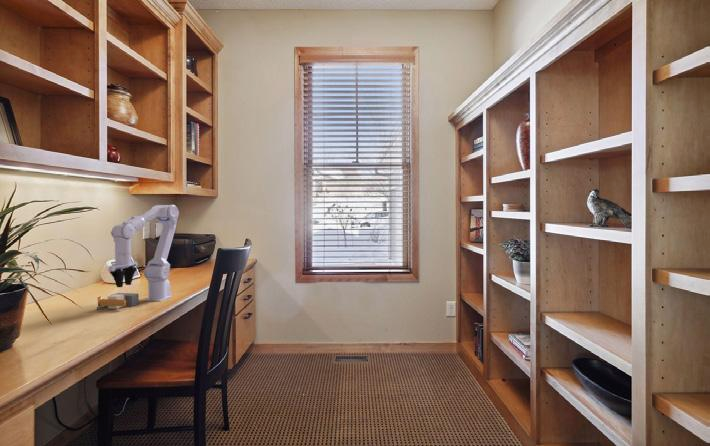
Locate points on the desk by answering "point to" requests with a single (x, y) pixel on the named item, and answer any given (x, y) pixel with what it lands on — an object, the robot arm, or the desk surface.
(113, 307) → the plug
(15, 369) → the desk surface
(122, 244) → the robot arm
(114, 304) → the orange long bar
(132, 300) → the socket block
